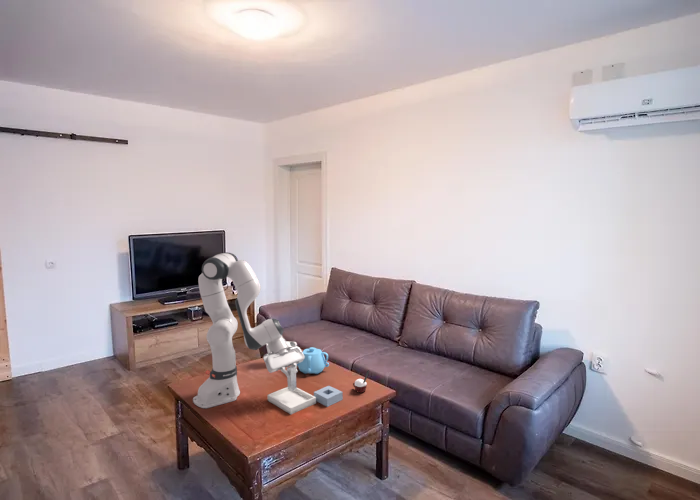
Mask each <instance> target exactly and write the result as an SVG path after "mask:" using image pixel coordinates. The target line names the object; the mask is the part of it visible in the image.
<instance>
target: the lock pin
mask: <svg viewBox="0 0 700 500" xmlns="http://www.w3.org/2000/svg"><path fill="white" fill-rule="evenodd" d="M296 369H297V368H296V367H294V366H289V367H286V371H289V373H290V375H289V376H286V378H287V380H286V381H287V387H288V390H290V391H294V390H296V389H297V388H298V387H297V373H296ZM296 387H297V388H296Z"/></svg>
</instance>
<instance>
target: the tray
mask: <svg viewBox="0 0 700 500" xmlns="http://www.w3.org/2000/svg"><path fill="white" fill-rule="evenodd" d="M296 388H297V389H296V390H294V391H290V390H288V386H286V387H284V388H281V389H278V390H276V391H274V392H271V393H269V394H267V395H266V397H267V401H268V402H269V403H271V404H273V405H274V406H276V407H278V408H279V409H281V410H283V411H284V412H286V413H288V414H289V415H293V414H296V413H297V412H300V411H302V410H304V409H307V408H309V407H311V406H314V405H315V404H317V401H316V397H314V395H312V394H310V393H309V392H307V391H304V390H303V389H301V388H299V387H297V386H296Z"/></svg>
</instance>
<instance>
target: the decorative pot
mask: <svg viewBox="0 0 700 500" xmlns="http://www.w3.org/2000/svg"><path fill="white" fill-rule="evenodd" d="M302 352H303V354H304V356H305V358H304V360H303V361H302V362H300V363H297V368H298V371H300V372H301V373H303V374H304V375H305V374H314V375H319V373H322V372H323V370H324V369H325V368H328V367H329V366H330V363H329V362H328V360H329V354H328V353H327V352H326V351H322V349H320V348H316V347H313V346H311V347H308V348H305V349H303V351H302ZM325 356H326V357H325Z"/></svg>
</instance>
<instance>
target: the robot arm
mask: <svg viewBox="0 0 700 500" xmlns="http://www.w3.org/2000/svg"><path fill="white" fill-rule="evenodd" d="M226 278H229V279H230V280H231V281H232V283H233V284H234V287H235V289H236V292H237V296H236V297H237V298H236V299H235V308H236V311H237V316H238V318H239V322H240V326H241V329H242V331H243V338H244V339H243V340H244V344H245V346H246V347H247V348H248V349H249V350H253V351H258V350H259V349H260V348H262V347H264V346H265V345H266V344H268V346H269V350H270V352H271V353H268V352H267V353H265V354H264V355H263V357H262V359H263V361H264V363H265V367H266V369H267V372H269V374H271V373H274V372H279V371H281V372H282V373H283V374H285V376H286V377H287V376H289V375H290V373H289V371H287V367H290V366H294V367H296V374H297V373H298V371H299V370H298V369H297V368H298V366H297V364H298V363H300V362H302V361H303V360H304V358H305V356H304V354H303V351H302V349H301V347H299V346H298V343H297V342H296V341H287V340H286V339H285V337H284V336H283V334H284V328H283V327H282V325H281V322H280V321H279V319H276V318H268V319H265V320H263V321H262V322H261V323H260V324H258V325H256V326H255V327H252V326H251V323H250V320H249V316H248V312H247V311H248V308H249V306H250V305H251V304H252V303H253V302H254V301H255V300H256V299H257V298H258V296H259V295H260V293H261V289H262V287H261V284H260V281H259V279H258V276H257V274H256V272H255V271H254V269H253V268H252V266H251V265H250V264H249V262H247V261H246V260H244V259H243V260H242V259H240V260H239V259H238V258H237V256H236V254H234V253H232V252H223V253H218V254H215V255H214V256H212V257H209V258H207V259H206V260H205V261H204V262H203V264H202V265H201V274H200V275H199V276H198V281H197V282H198V289H199V294H200V298H201V301H202V305H203V307H204V312H205V313H206V314H207V315H208V316H209V318H210V320H211V321H212V325H211V326H209V328H208V330H207V333H206V340H207V343H208V344H209V347H210V351H211V356H212V361H211V362H212V369H211V371H210V370H209V369H207V370H206V371H204V372H205V374H206V375H209V377H208V378H207V379H206V380H205V381H204V382H203V383H202V384H201V385H200V386H199V387H198V390H197V395H196V396H194V397H193V398H192V403H193V404H194V405H196V406H197V407H199V408H201V409H209V408H213V407H217V406H220V405H223V404H227V403H231V402H234V401H237V398H238V396H240V394H241V391H240V387H239V383H238V378H237V377H238V369H237V368H238V367H237V365H236V364H237V363H236V361H237V357H236V351H235V349H234V344H233V336H234V335H235V334H236V332H237V330H238V325H239V323H238V320H237V318H236V317H235V316H234V314H233V312H232V310H231V307H230V306H229V302H228V299H227V297H226V292H225V289H224V285H223V279H225V280H226Z"/></svg>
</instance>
